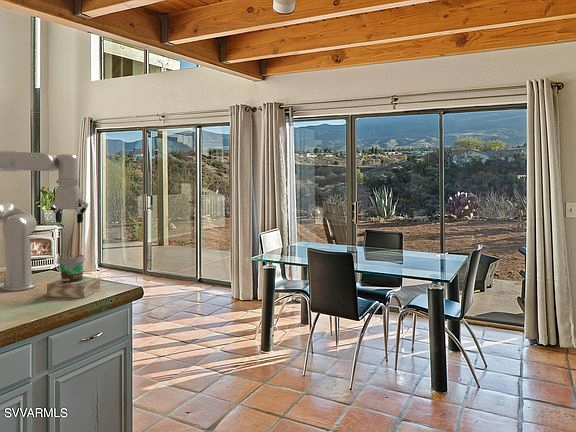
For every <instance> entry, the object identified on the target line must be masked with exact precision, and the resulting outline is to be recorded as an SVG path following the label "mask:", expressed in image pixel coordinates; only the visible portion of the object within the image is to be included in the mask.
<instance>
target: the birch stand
mask: <svg viewBox="0 0 576 432" xmlns="http://www.w3.org/2000/svg"><path fill="white" fill-rule="evenodd" d="M100 280H101V279H100V278H95V277H82V280H81V281H78V282H72V283H62V278H59V279H57V280H54V281H52V282H49V283H47V284H46V297H56V298H57V297H58V298H59V297H60V298H79V299H80V298H81V299H85V298H87V297H89V296H91V295H93V294H94V295H95V293H98V292H100V290H101V287H100V284H101V283H100Z"/></svg>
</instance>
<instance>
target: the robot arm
mask: <svg viewBox="0 0 576 432" xmlns="http://www.w3.org/2000/svg"><path fill="white" fill-rule="evenodd" d="M18 171H29V172H30V171H32V172H33V171H34V172H37V171H38V172H57V171H58V173H57V174H58V175H57V176H58V177H57V178H58V180H56V181H55V182H56V184H58V186H57V185H56V187H55V188H56V189H55V194H54V195H55V196H54V200H52V201H51V202H49V206H50V208H51V210H52V211H53V213H54V214H55V223H61V222H63V220H62V217H63V216H62V211H63V210H69V211H70V210H73V211H74V210H75V211H76V212H77V214H76V223H77V224H81V223H83V221H84V213H85V212H86V211H87V210H88V206H89V203H88V202H86V201H85V200H82V199H83V198H82V193H81V188H80V186H79V177H78V173H79V172H78V171H79V170H78V156H77V155H75V154H70V153H69V154H68V153H66V154H65V153H64V154H63V153H62V154H55V153H47V152H32V151H31V152H25V151H15V150H0V172H18ZM82 206H83V207H82ZM0 223H2V226H1V228H2V229H1V230H2V236H3V242H4V253H5V254H4V256H5V258H4V259H5V277H0V283H1V284H2V283H3V286H1V287H2V290H3V291H7V292H8V291H9V292H17V291H18V292H19V291H26V290H30V289H34V288H35V287H36V286H37V283H36V282H35V281H33V280H32V279H33V274H32V249H31V248H32V247H31V246H32V245H31V240H30V239H31V238H30V236H29V234H31V233H33V232H34V231H35V230H36V229H37V227H38V225H37V224H38V222H37V220H36V218H35V216H34V215H32V214H31V213H29V212H27V211H26V210H25V209H22V208H21V207H18V205H16V204H14V203H12V202H10V201H7V200H3V199H0Z"/></svg>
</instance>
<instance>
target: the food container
mask: <svg viewBox="0 0 576 432" xmlns="http://www.w3.org/2000/svg"><path fill="white" fill-rule="evenodd" d="M76 255H77V256H74V257H73V256H70V257H67V258H59V262H58V264H59V265H60V275H61V278H60V279H62V283H72V282H78V281H81V280H82V278H84V277H83V274H84V273H83V272H84V262H85V261H86V258H85V256H84V254H82V253H81V254H80V253H79V254H78V253H77V254H76Z"/></svg>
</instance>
